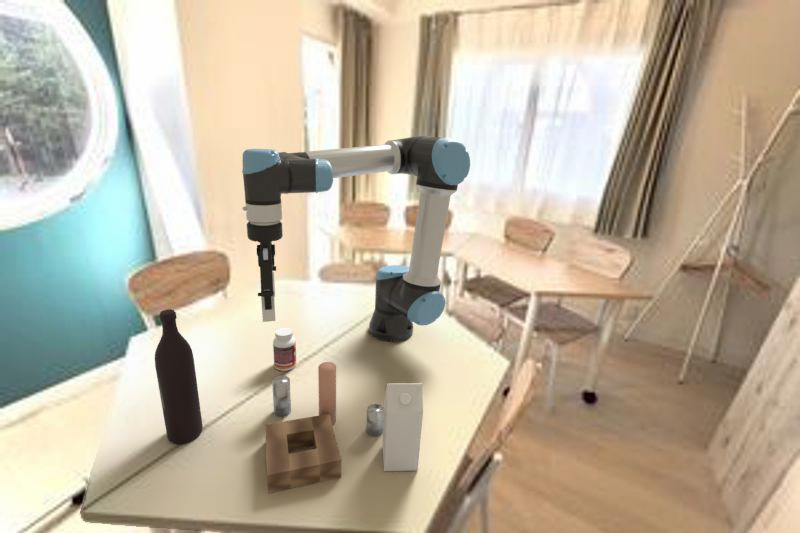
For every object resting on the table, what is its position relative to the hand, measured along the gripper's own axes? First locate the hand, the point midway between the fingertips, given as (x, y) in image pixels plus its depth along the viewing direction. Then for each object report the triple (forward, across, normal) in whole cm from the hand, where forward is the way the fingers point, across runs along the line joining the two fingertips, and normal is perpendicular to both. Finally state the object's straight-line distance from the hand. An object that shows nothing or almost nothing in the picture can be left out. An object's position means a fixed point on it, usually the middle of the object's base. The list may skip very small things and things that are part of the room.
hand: (269, 307), depth 98 cm
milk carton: (+24, +28, +26) cm, 45 cm away
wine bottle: (+24, +11, -19) cm, 33 cm away
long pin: (+24, +14, +12) cm, 30 cm away
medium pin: (+24, +8, +2) cm, 26 cm away
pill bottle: (+24, -12, +3) cm, 28 cm away
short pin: (+24, +19, +22) cm, 38 cm away
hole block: (+24, +24, +6) cm, 34 cm away
